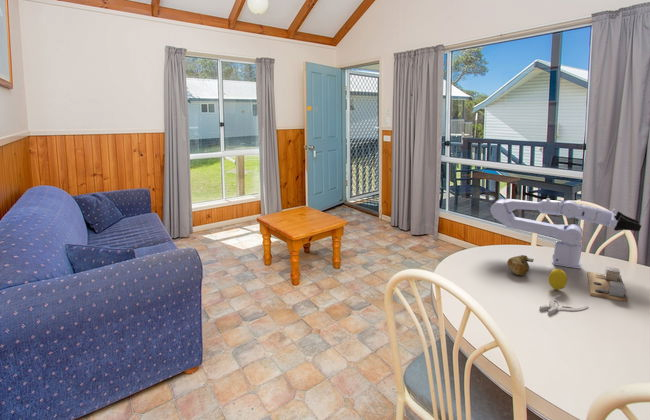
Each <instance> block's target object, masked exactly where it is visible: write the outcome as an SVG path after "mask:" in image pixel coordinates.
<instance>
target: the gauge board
mask: <svg viewBox="0 0 650 420" xmlns="http://www.w3.org/2000/svg"><path fill="white" fill-rule="evenodd" d="M586 274H587V279H588V280H587V281H588V290H589V295H590V296H593V297H598V298H604V299H609V300H610V299H611V300H615V301H620V302H626V303H627V302H628V293H627V291H626V289H625V292H624V297H618V296H613V295H609V293H608V292H602V291H598V289H605V290H608V288H609V283H610V281H613V280H607V279H605V277H599V276H595V275H596V274H601V275H605V273H598V272H594V271H593V272H592V271H587V273H586ZM614 282H620V283H624V282H623V278H622V275H621V274H620V275H619V281H614Z"/></svg>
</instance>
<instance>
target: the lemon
mask: <svg viewBox="0 0 650 420" xmlns="http://www.w3.org/2000/svg"><path fill="white" fill-rule="evenodd" d="M567 283H568V276H567V273H566V272H565V271H564V270H563V269H561V268H556V269H553V270H552V271H550V273H549V275H548V284H549V286H550V287H551V288H552V289H554V291H558V290H562V289H563V288H565V287H566V286H567Z"/></svg>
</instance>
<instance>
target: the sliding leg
mask: <svg viewBox="0 0 650 420" xmlns="http://www.w3.org/2000/svg"><path fill="white" fill-rule="evenodd" d="M604 270H605V271H604V274H605V275H601V274H602V273H600V274H596V275H595V276H599V277H605V279H607V280H613V281H619V275H621V274H620V273H621V271H620V269H619V267H611V266H605V269H604Z"/></svg>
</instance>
